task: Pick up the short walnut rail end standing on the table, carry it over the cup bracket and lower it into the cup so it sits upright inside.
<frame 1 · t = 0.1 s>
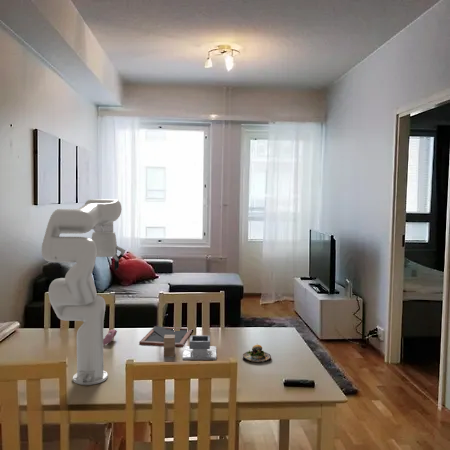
hand: (104, 270, 200), 37 cm above the table, tool pointing down, fingers open, 9 cm apart
picture frame: (167, 338, 229), on the table
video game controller: (109, 342, 220), on the table
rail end: (169, 354, 205), on the table
cup bracket: (199, 353, 207), on the table
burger: (256, 360, 201), on the table
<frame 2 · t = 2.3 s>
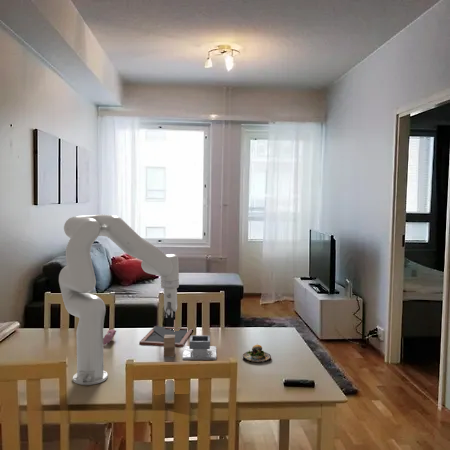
hand: (170, 323, 205), 14 cm above the table, tool pointing down, fingers open, 9 cm apart
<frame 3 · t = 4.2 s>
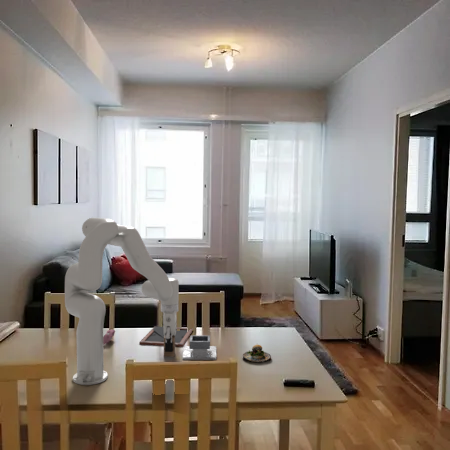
hand: (169, 349, 205), 2 cm above the table, tool pointing down, fingers closed on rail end, 4 cm apart
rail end: (169, 354, 205), on the table, touching gripper
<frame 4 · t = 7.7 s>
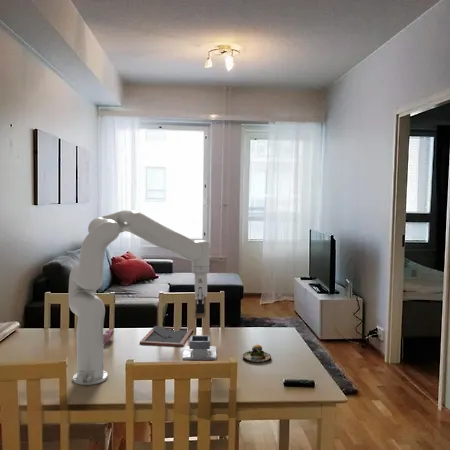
hand: (200, 311, 205), 19 cm above the table, tool pointing down, fingers closed on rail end, 4 cm apart
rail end: (200, 316, 205), point 16 cm above the table, touching gripper
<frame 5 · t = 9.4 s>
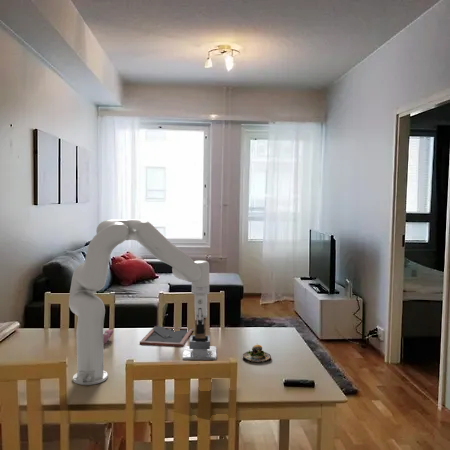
hand: (200, 331, 206), 10 cm above the table, tool pointing down, fingers closed on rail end, 4 cm apart
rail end: (200, 336, 206), point 7 cm above the table, touching gripper
when the fingers open (8 cm above the table, at t = 11.1 s): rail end stays where it is, resting on cup bracket.
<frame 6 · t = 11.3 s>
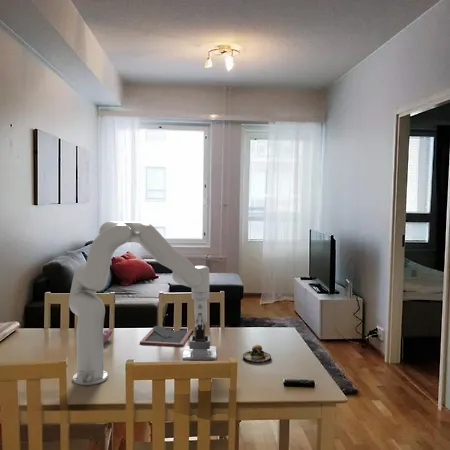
hand: (200, 335, 206), 8 cm above the table, tool pointing down, fingers open, 6 cm apart
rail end: (199, 343, 206), point 5 cm above the table, touching cup bracket
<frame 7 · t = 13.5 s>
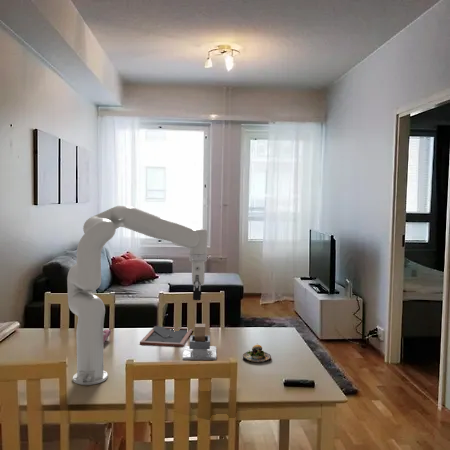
hand: (197, 297, 205), 25 cm above the table, tool pointing down, fingers open, 9 cm apart
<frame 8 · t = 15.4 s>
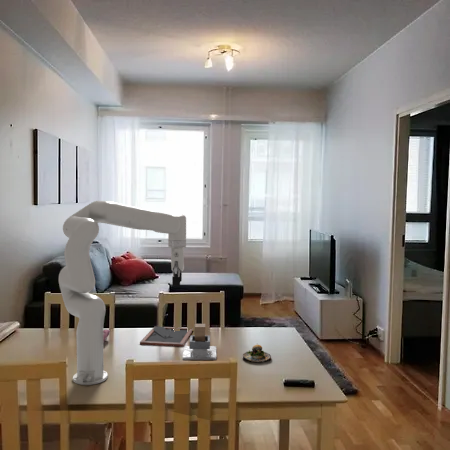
hand: (177, 283, 205), 30 cm above the table, tool pointing down, fingers open, 9 cm apart
at the end: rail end 0.1 cm off-centre on the cup bracket, point 4.5 cm above the cup bracket's base; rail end tilted 0°; the gripper is holding nothing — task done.
